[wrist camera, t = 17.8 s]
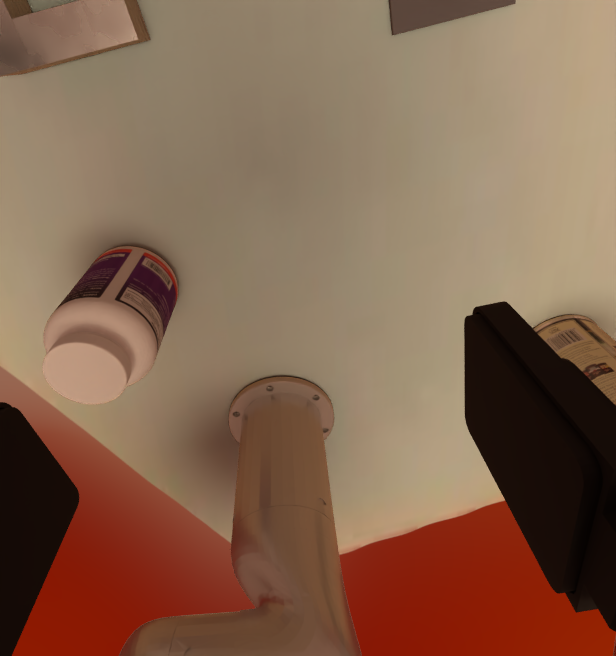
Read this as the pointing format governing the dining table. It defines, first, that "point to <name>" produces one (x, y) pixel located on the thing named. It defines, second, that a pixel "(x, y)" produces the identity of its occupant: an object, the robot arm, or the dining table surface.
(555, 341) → the coffee can
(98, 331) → the pill bottle
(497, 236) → the dining table surface
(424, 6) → the mat
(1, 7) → the socket block
